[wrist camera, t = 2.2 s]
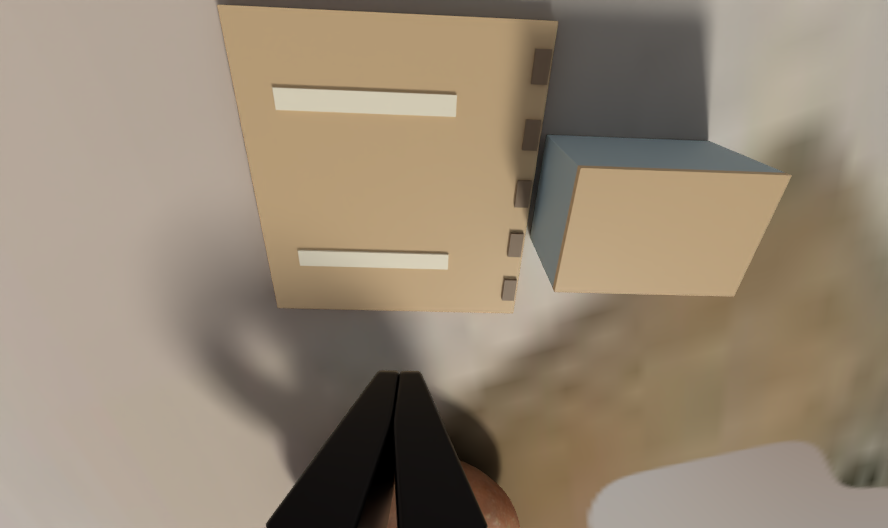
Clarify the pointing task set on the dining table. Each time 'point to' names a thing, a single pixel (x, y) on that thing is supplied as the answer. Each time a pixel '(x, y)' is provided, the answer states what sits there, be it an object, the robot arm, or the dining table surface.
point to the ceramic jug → (481, 501)
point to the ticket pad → (390, 152)
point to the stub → (650, 215)
